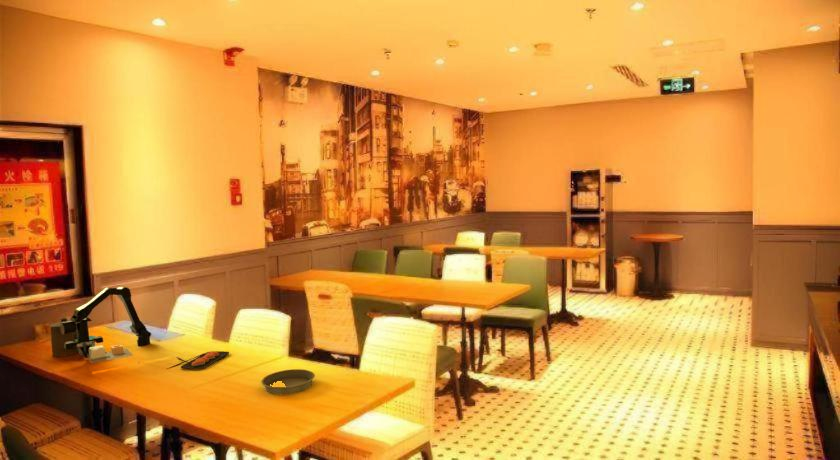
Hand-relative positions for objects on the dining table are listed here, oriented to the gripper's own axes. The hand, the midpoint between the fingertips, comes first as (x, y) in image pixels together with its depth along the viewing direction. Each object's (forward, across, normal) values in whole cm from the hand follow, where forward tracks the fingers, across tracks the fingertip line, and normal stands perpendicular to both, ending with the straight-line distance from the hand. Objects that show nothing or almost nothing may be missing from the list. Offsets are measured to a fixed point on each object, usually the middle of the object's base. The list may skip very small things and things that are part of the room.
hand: (85, 357), depth 331 cm
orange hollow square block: (+1, -16, 0) cm, 16 cm away
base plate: (+2, -12, +3) cm, 13 cm away
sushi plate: (+3, -46, +47) cm, 66 cm away
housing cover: (+1, -6, 0) cm, 6 cm away
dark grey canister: (+3, +7, -29) cm, 30 cm away
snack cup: (+3, -2, -15) cm, 15 cm away
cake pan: (+3, -69, +122) cm, 140 cm away
